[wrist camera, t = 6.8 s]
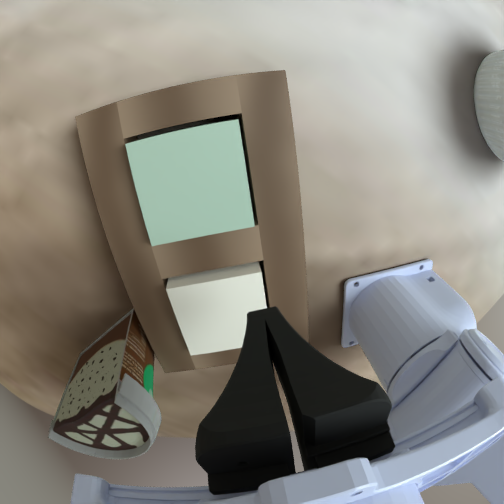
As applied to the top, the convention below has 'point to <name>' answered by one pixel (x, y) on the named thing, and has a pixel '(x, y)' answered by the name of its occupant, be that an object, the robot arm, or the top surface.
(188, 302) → the cream key
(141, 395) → the food container
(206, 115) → the key console
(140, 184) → the sage key
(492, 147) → the ramekin
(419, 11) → the top surface
